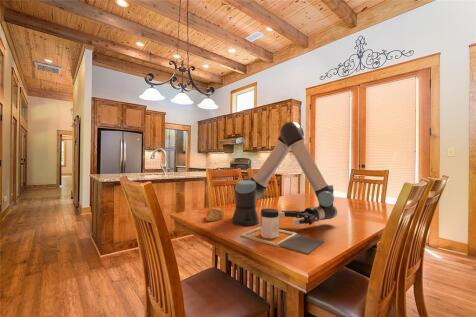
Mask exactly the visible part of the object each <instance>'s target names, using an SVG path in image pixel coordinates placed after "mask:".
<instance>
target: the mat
mask: <svg viewBox="0 0 476 317" xmlns="http://www.w3.org/2000/svg"><path fill="white" fill-rule="evenodd" d="M324 242H325V240H323V239H320V238H315V237H310V236H306V235H302V234H297V236H295V237H293V238H291V239H290V240H288V241H286V242H284V243H283V244H281V245H279V247H280V248H283V249H288V250H291V251H295V252H298V253H302V254H306V255H310V253H312V252H313V251H314V250H316V249H317V248H318V247H319V246H320V245H322V244H323V243H324Z"/></svg>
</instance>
